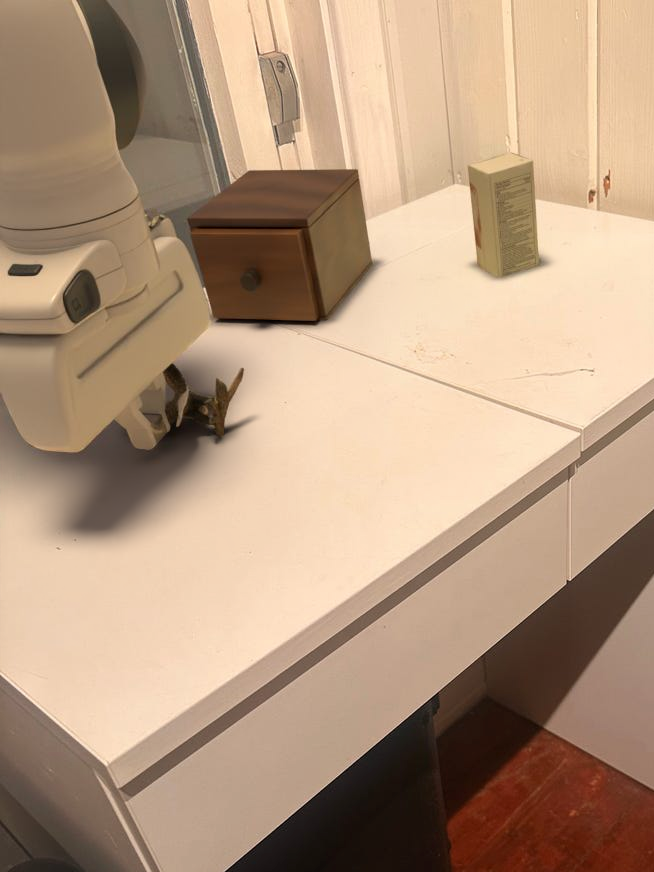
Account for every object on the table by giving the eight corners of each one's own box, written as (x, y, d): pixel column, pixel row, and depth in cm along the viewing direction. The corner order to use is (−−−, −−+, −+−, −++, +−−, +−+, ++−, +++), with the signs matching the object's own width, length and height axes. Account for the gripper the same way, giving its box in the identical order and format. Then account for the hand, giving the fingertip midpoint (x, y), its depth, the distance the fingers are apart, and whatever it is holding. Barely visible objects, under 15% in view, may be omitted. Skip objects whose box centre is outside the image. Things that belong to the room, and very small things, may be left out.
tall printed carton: (517, 256, 94) (512, 150, 87) (540, 269, 91) (537, 159, 84) (473, 270, 92) (465, 162, 86) (496, 283, 90) (489, 172, 83)
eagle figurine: (265, 393, 74) (174, 359, 76) (227, 347, 67) (128, 311, 69) (223, 476, 73) (132, 439, 75) (180, 438, 66) (81, 398, 68)
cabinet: (327, 325, 85) (306, 218, 79) (215, 321, 88) (186, 218, 81) (373, 268, 95) (358, 168, 88) (271, 266, 97) (248, 170, 91)
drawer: (310, 326, 83) (292, 239, 78) (207, 323, 86) (183, 238, 80) (359, 268, 93) (345, 186, 87) (265, 266, 95) (247, 187, 90)
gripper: (123, 199, 67) (180, 373, 77) (-57, 317, 53) (40, 514, 62) (200, 199, 66) (248, 376, 75) (36, 320, 51) (121, 521, 61)
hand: (153, 440), depth 69 cm, fingers closed
